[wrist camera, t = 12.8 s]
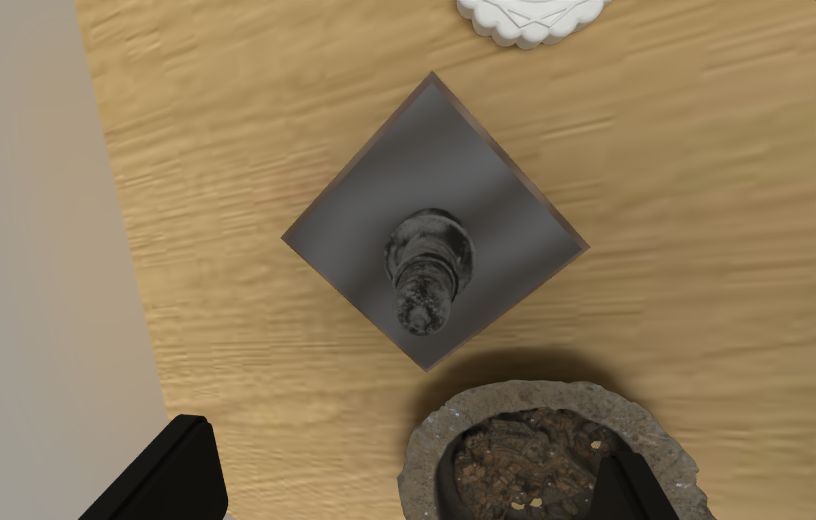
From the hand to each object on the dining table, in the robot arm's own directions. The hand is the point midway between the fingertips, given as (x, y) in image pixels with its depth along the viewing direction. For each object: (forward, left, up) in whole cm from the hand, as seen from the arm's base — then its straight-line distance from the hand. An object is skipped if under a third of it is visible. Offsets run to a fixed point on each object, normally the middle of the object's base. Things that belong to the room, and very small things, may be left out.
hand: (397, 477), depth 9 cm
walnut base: (0, 0, -24) cm, 24 cm away
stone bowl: (-23, +9, -25) cm, 35 cm away
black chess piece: (0, 0, -19) cm, 19 cm away
